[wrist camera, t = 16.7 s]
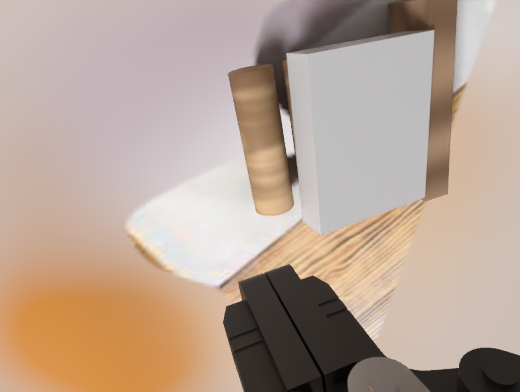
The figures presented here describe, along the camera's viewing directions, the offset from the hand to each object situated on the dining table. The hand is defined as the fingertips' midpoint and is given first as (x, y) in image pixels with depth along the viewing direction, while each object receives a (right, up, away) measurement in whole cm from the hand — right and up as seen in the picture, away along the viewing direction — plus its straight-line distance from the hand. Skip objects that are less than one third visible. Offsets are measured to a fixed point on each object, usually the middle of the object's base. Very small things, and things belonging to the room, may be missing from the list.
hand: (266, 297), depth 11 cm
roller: (0, +8, +23) cm, 24 cm away
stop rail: (+13, +12, +26) cm, 31 cm away
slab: (+8, +9, +21) cm, 24 cm away
